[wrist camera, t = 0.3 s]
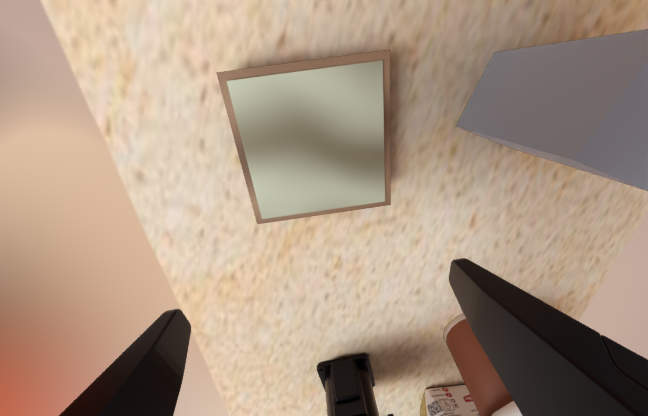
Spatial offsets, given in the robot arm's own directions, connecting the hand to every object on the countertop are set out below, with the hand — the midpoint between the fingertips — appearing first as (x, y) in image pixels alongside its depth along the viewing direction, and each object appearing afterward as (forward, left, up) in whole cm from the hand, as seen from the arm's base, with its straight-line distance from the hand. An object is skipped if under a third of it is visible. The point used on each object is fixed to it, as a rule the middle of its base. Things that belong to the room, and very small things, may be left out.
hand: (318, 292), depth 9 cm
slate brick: (+1, -16, -14) cm, 21 cm away
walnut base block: (+2, -1, -14) cm, 14 cm away
